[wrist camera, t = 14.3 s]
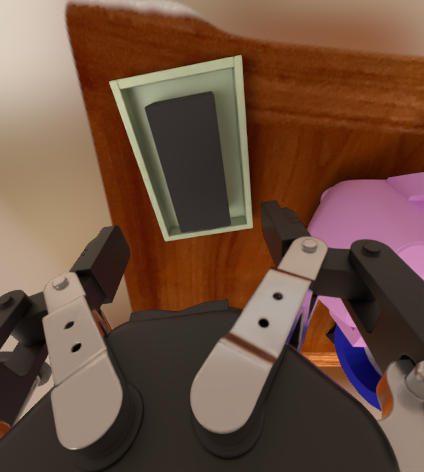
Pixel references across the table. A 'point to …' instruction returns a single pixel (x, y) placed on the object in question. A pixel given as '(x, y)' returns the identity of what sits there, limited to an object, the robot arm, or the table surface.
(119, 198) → the table surface
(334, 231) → the teapot
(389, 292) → the robot arm
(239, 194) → the pale green tray
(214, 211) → the black rectangular block
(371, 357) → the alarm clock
